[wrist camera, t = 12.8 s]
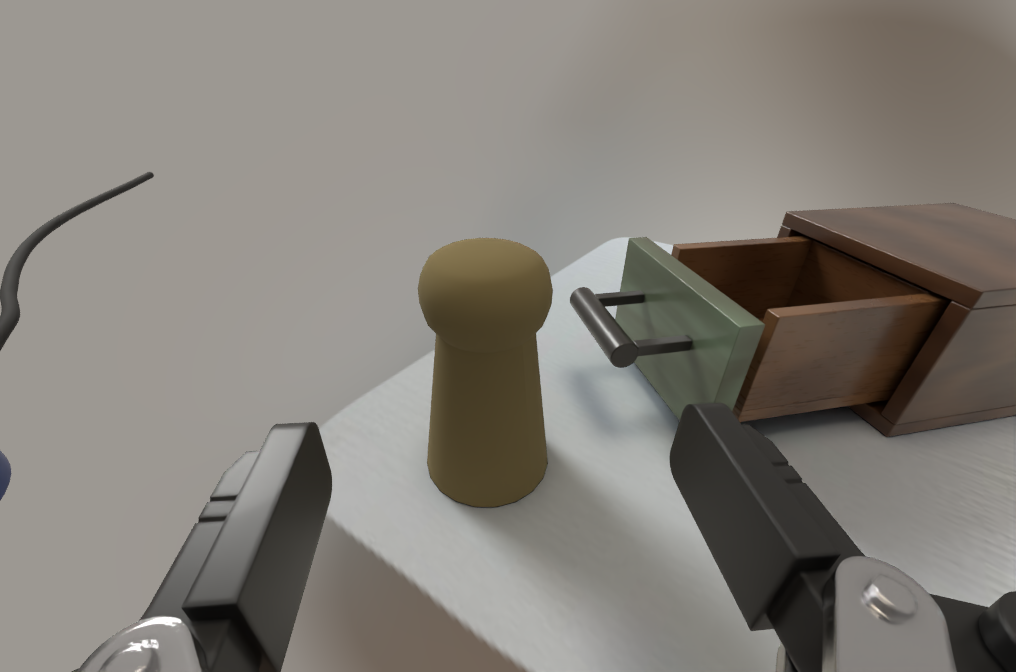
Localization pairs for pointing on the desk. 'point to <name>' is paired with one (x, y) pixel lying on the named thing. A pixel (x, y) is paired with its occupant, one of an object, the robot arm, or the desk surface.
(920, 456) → the desk surface
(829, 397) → the drawer
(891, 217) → the cabinet
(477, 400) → the olive peg doll
